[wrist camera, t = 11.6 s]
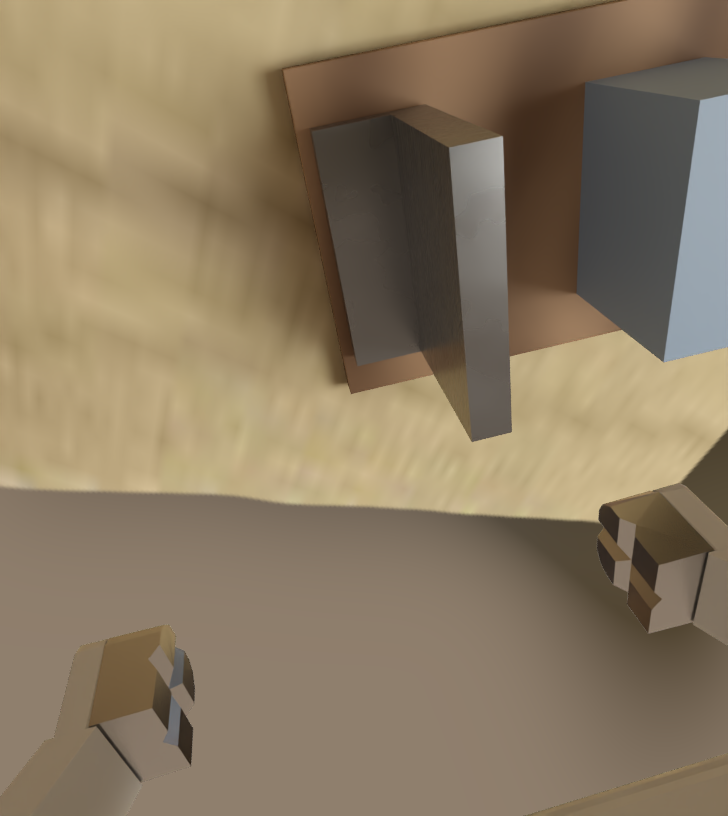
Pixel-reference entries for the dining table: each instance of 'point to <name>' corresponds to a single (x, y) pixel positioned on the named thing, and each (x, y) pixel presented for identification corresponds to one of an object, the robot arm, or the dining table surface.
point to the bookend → (424, 250)
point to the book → (658, 205)
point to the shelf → (506, 139)
